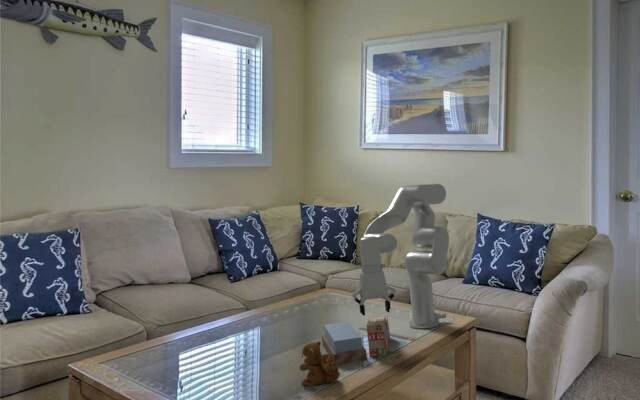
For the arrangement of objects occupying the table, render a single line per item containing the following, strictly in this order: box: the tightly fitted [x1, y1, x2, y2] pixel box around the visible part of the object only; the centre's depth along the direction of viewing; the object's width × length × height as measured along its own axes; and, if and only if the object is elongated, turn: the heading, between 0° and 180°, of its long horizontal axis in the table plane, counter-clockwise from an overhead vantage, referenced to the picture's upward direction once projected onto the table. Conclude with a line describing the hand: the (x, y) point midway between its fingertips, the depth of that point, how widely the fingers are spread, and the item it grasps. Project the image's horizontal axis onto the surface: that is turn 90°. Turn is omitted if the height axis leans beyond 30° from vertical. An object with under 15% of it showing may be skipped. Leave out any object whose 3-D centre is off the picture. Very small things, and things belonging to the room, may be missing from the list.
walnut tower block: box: [321, 334, 368, 366], centre depth 218 cm, size 12×25×4 cm, turn 9°
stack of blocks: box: [366, 314, 391, 357], centre depth 220 cm, size 21×6×12 cm, turn 169°
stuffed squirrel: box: [299, 341, 341, 387], centre depth 191 cm, size 10×14×13 cm
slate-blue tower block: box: [323, 321, 363, 353], centre depth 218 cm, size 10×23×4 cm, turn 9°
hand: (375, 313), depth 218 cm, fingers open, 9 cm apart
